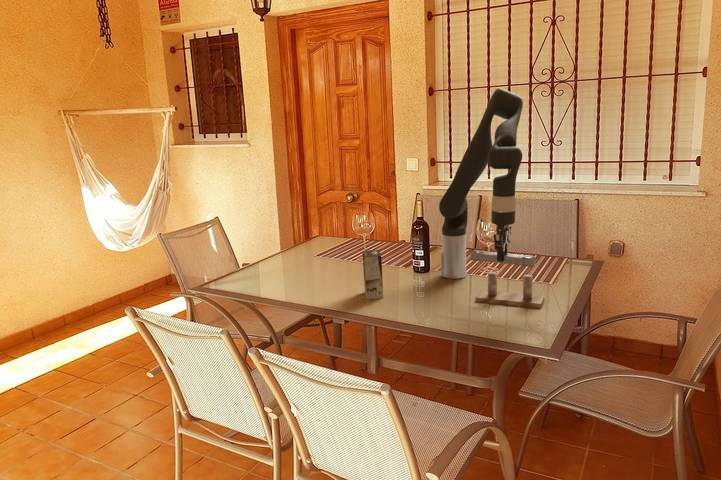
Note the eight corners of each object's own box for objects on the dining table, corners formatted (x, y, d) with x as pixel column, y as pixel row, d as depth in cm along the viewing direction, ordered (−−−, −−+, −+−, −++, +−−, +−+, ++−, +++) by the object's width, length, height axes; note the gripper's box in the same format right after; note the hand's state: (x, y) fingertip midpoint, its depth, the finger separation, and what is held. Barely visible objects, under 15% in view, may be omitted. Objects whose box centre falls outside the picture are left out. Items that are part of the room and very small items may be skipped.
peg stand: (475, 301, 204) (475, 275, 202) (480, 293, 211) (480, 268, 209) (540, 308, 195) (541, 281, 192) (544, 300, 202) (544, 273, 199)
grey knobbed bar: (468, 260, 197) (468, 253, 196) (472, 256, 201) (472, 249, 200) (533, 267, 187) (533, 259, 187) (536, 263, 191) (536, 255, 190)
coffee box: (383, 298, 212) (381, 255, 208) (366, 299, 211) (364, 257, 207) (380, 290, 221) (378, 249, 217) (363, 291, 220) (361, 250, 216)
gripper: (497, 203, 197) (496, 253, 202) (485, 212, 185) (484, 264, 190) (520, 205, 194) (518, 255, 198) (509, 214, 182) (508, 267, 186)
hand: (502, 259), depth 194 cm, fingers closed on grey knobbed bar, 3 cm apart
